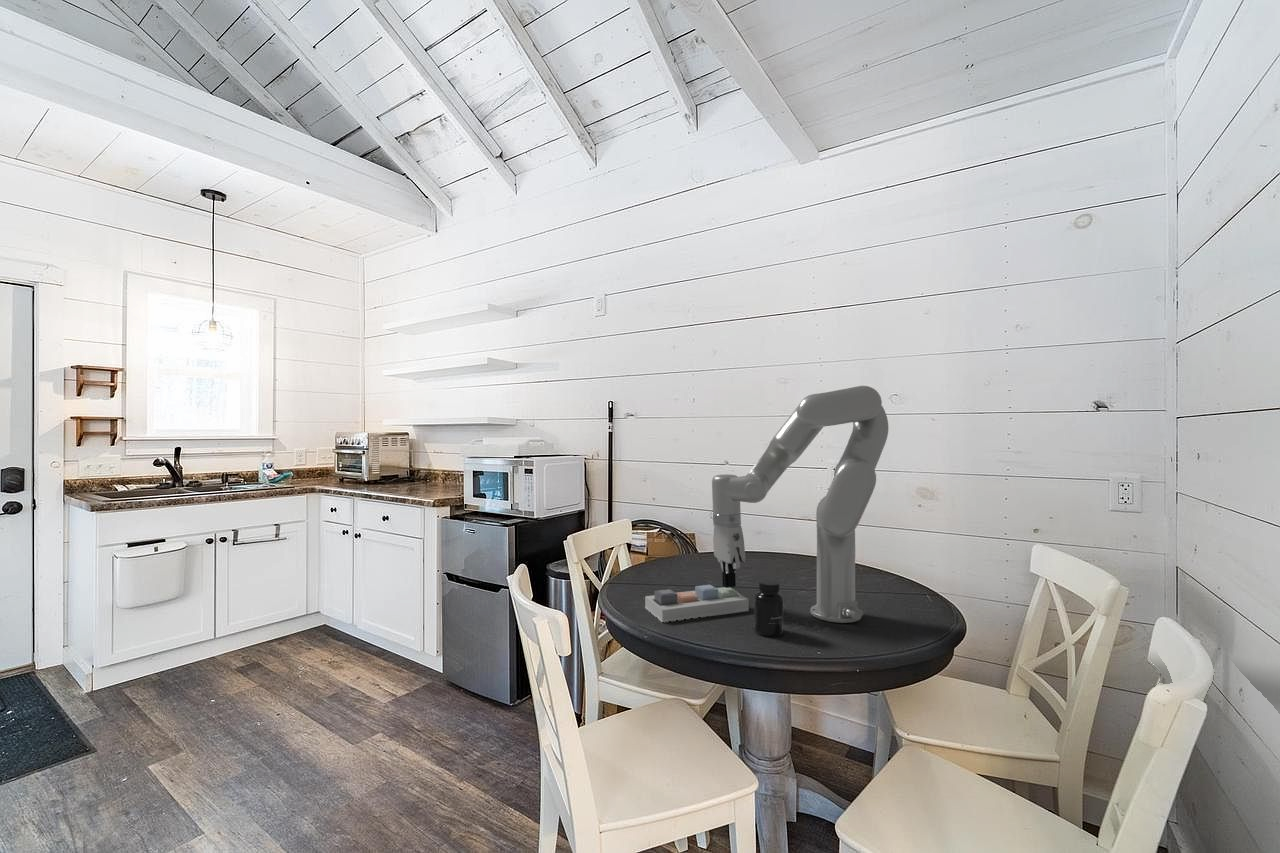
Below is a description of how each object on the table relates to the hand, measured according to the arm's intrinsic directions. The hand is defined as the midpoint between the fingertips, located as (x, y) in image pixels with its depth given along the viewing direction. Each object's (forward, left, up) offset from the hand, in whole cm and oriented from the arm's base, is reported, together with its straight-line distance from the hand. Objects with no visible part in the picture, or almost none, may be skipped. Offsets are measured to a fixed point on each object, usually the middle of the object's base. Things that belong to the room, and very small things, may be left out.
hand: (729, 586), depth 158 cm
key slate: (+1, +7, -3) cm, 7 cm away
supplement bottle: (-20, +1, -6) cm, 21 cm away
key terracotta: (+1, +13, -4) cm, 13 cm away
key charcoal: (+1, +19, -3) cm, 19 cm away
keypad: (+1, +10, -5) cm, 11 cm away
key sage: (+1, +1, -4) cm, 4 cm away
